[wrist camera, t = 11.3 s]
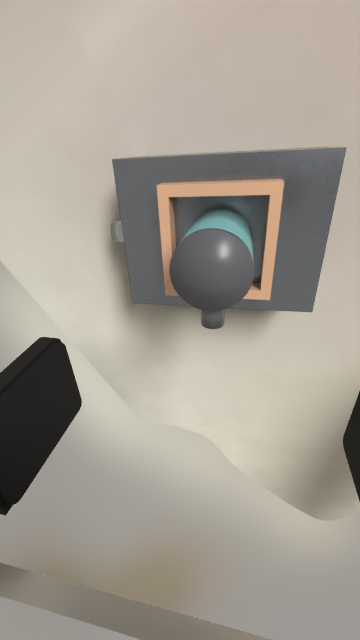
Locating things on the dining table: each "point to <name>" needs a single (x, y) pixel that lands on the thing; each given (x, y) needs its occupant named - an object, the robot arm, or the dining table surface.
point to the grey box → (238, 195)
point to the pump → (214, 264)
